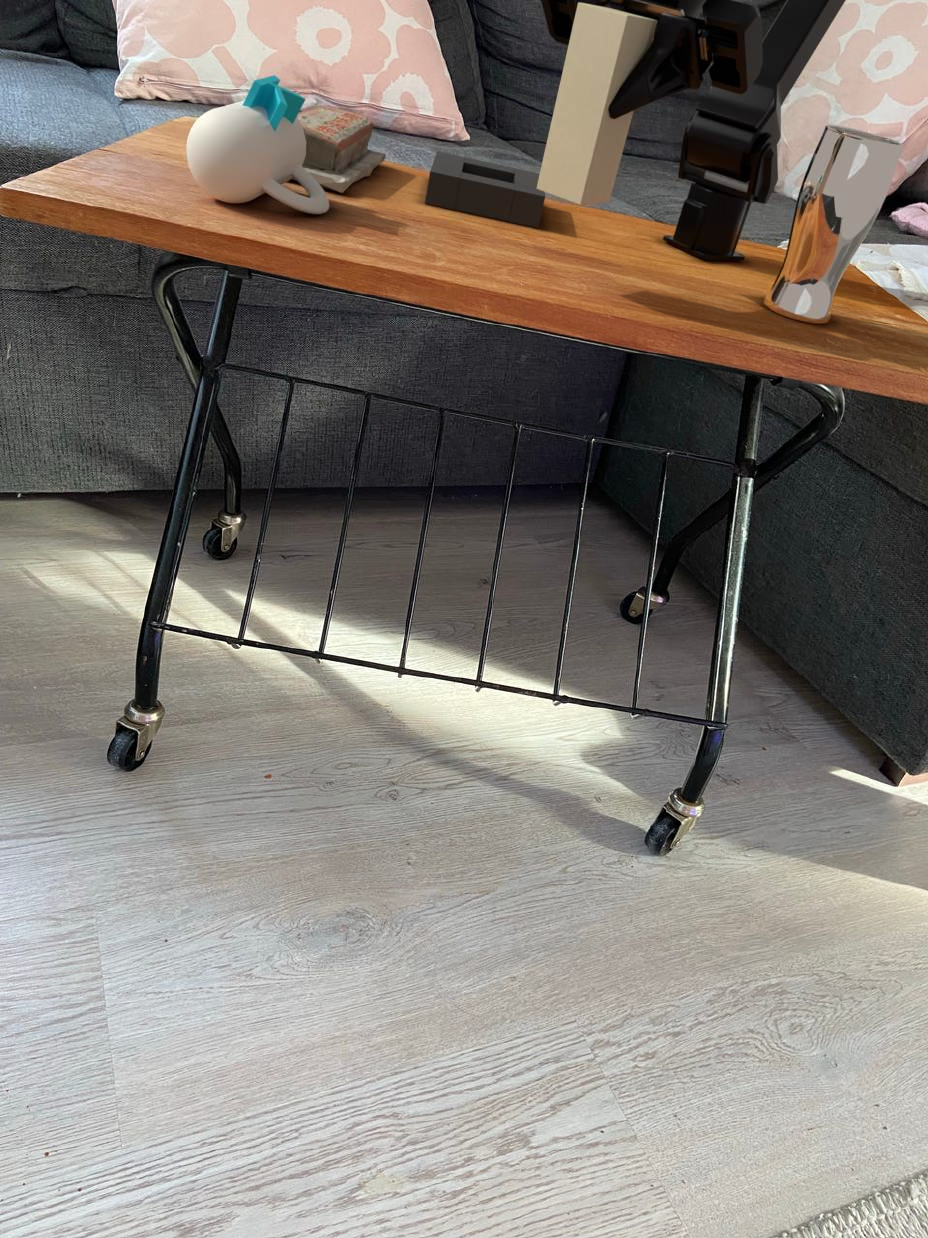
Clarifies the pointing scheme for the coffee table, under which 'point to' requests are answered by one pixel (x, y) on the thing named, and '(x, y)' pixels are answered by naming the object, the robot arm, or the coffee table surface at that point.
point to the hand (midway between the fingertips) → (585, 105)
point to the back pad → (592, 104)
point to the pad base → (485, 189)
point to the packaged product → (337, 146)
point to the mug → (254, 149)
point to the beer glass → (832, 219)
